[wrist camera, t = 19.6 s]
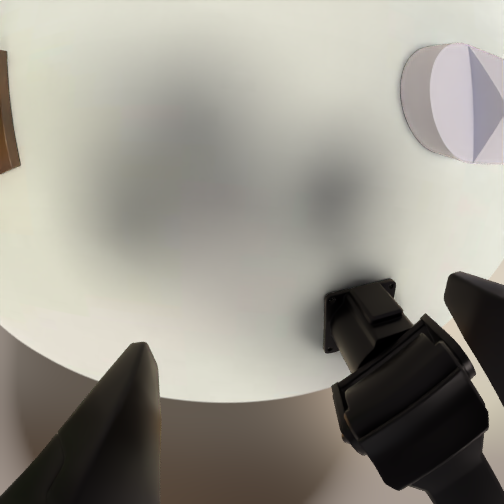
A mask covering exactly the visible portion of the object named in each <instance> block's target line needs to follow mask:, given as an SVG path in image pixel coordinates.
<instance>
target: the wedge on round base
mask: <svg viewBox="0 0 504 504" xmlns="http://www.w3.org/2000/svg"><path fill="white" fill-rule="evenodd" d="M401 101H402V107H403V111H404V115H405V118H406V120H407V123H408V125H409V127H410V129H411V131H412V132H413V134H414V136H415V137H416V138H417V139H418V141H419V142H420V143H421V144H422V145H423V146H424V147H426V148H427V149H428V150H430V151H432V152H434V153H437V154H441V155H444V156H447V157H450V158H454V159H457V160H460V161H463V162H466V163H471V164H504V59H502V58H500V57H497V56H495V55H493V54H490V53H488V52H486V51H483V50H481V49H478V48H476V47H473V46H470V45H468V44H464V43H451V44H443V45H436V46H429V47H424V48H421V49H419V50H418V51H416V52H415V53H414V54H413V55H412V56H411V57H410V58H409V60H408V61H407V63H406V65H405V67H404V70H403V74H402V79H401Z"/></svg>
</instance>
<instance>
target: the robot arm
mask: <svg viewBox="0 0 504 504" xmlns="http://www.w3.org/2000/svg"><path fill="white" fill-rule="evenodd" d="M390 284H391V285H390ZM389 285H390V286H389ZM395 288H396V283H395V282H394V281H393V280H392V279H388V280H384V281H380V282H375V283H371V284H366V285H362V286H358V287H354V288H350V289H346V290H341V291H337V292H333V293H329V294H327V295H326V297H325V304H324V341H323V349H324V351H325V353H327V354H328V353H333V352H337V351H340V352H341V354H342V356H343V358H344V360H345V362H346V364H347V366H348V368H349V370H350V372H351V373H352V374H350V375H349V376H348V377H346V378H345V379H343V380H342V381H340V382H339V383H338V382H337V383H335V384H334V385H332V386H331V387H332V392H333V400H334V404H335V408H336V413H337V417H338V422H339V427H340V430H341V433H342V439H343V441H344V442H345V443H348V444H351V445H352V447H353V448H354V449H355V450H356V451H357V452H358V453H359V454H361V455H364V456H365V455H368V457H369V458H370V460H371V461H372V462H373V464H374V465H375V467H376V469H377V470H378V472H379V474H380V476H381V477H382V479H383V481H384V483H385V484H386V485H388V486H390V487H392V488H394V489H395V490H398V491H400V490H402V489H404V488H406V487H407V486H410V487H413V488H416V489H419V490H422V491H425V492H426V493H427V494H428V496H429V497H430V499H431V501H432V502H433V504H504V491H503V489H502V487H501V485H500V483H499V481H498V479H497V478H496V476H495V474H494V472H493V470H492V469H491V467H490V465H489V463H488V462H487V460H486V458H485V456H484V455H483V453H482V448H483V438H484V433H485V432H486V431H487V430H488V428H489V418H488V411H487V409H486V408H485V403H484V401H483V399H482V398H481V396H480V394H479V393H478V391H477V390H476V388H475V386H474V385H473V383H472V382H471V379H472V378H473V377H474V376H475V375H476V372H475V369H474V367H473V365H472V363H471V361H470V360H469V358H468V357H467V355H466V354H465V352H464V351H463V350H462V348H461V347H460V346H459V345H458V343H457V342H456V341H455V340H454V339H453V338H452V337H451V336H450V335H449V334H448V333H447V332H446V331H445V330H443V329H442V328H441V327H440V326H439V325H438V324H437V323H436V322H435V321H434V320H432V319H431V318H430V317H429V316H428V315H427V314H426V313H425V314H424V315H423V316H422V317H421V318H420V320H419V321H418V322H417V323H416V324H415V325H413V324H412V323H411V322H410V320H409V319H408V318H407V317H406V316H405V315H404V313H403V309H402V308H401V307H400V306H399V304H398V303H397V302H396V301H395V300H394V294H395ZM332 298H333V299H332ZM330 299H332V300H331V301H329V300H330ZM444 301H445V304H446V306H447V307H448V309H449V311H450V313H451V315H452V316H453V318H454V320H455V322H456V324H457V326H458V327H459V329H460V331H461V333H462V335H463V337H464V339H465V341H466V342H467V344H468V345H469V347H470V349H471V350H472V352H473V353H474V355H475V357H476V358H477V360H478V362H479V363H480V365H481V367H482V368H483V370H484V372H485V373H486V375H487V377H488V378H489V380H490V382H491V384H492V386H493V387H494V390H495V391H496V393H497V395H498V397H499V399H500V401H501V403H502V405H503V406H504V285H502V284H499V283H496V282H492V281H489V280H486V279H483V278H480V277H477V276H474V275H471V274H467V273H464V272H461V271H459V272H455V273H452V274H450V276H449V277H448V281H447V285H446V289H445V293H444ZM328 348H329V349H328ZM160 444H161V409H160V393H159V375H158V366H157V363H156V361H155V359H154V356H153V354H152V352H151V350H150V348H149V346H148V344H147V343H146V342H137V343H132V344H130V345H129V346H128V348H127V349H126V350H125V351H124V352H123V354H122V355H121V356H120V357H119V358H118V359H117V361H116V362H115V363H114V364H113V365H112V366H111V368H110V369H109V370H108V371H107V372H106V374H105V375H104V376H103V377H102V378H101V380H100V381H99V382H98V383H97V384H96V386H95V387H94V388H93V389H92V390H91V392H90V393H89V394H88V395H87V396H86V398H85V399H84V400H83V401H82V403H81V404H80V405H79V406H78V407H77V409H76V410H75V411H74V412H73V414H72V415H71V416H70V417H69V419H68V420H67V421H66V422H65V424H64V425H63V426H62V427H61V428H60V430H59V431H58V434H56V435H55V436H54V437H53V438H52V440H51V441H50V442H49V444H48V445H47V446H46V447H45V449H43V451H42V452H41V453H40V454H39V455H38V457H37V458H36V459H35V460H34V461H33V462H32V463H31V464H30V466H29V467H28V468H27V469H26V470H25V471H24V472H23V473H22V474H21V475H20V476H19V477H18V478H17V479H16V481H14V482H13V483H12V485H11V486H10V487H9V488H8V489H7V490H6V491H5V492H4V493H3V494H2V495H1V496H0V504H160Z"/></svg>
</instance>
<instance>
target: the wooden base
mask: <svg viewBox="0 0 504 504" xmlns="http://www.w3.org/2000/svg"><path fill="white" fill-rule="evenodd" d="M18 166H20V161H19V156H18V151H17V146H16V141H15V135H14V129H13V122H12V115H11V108H10V99H9V88H8V75H7V51H3V50H0V174H2V173H4V172H6V171H9V170H11V169H13V168H16V167H18Z"/></svg>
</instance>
